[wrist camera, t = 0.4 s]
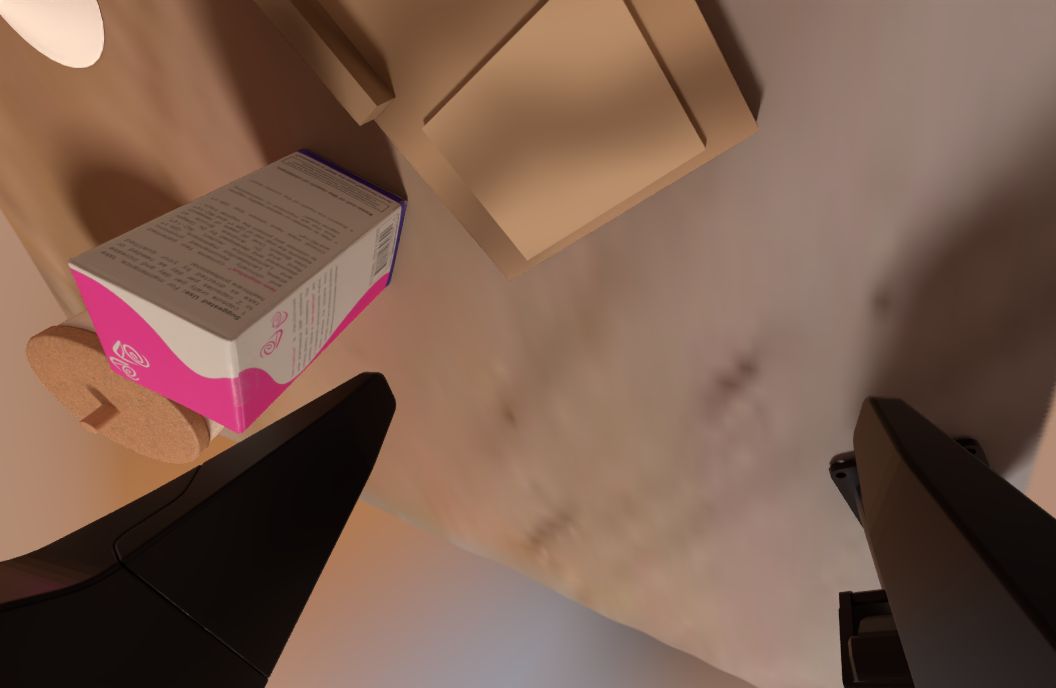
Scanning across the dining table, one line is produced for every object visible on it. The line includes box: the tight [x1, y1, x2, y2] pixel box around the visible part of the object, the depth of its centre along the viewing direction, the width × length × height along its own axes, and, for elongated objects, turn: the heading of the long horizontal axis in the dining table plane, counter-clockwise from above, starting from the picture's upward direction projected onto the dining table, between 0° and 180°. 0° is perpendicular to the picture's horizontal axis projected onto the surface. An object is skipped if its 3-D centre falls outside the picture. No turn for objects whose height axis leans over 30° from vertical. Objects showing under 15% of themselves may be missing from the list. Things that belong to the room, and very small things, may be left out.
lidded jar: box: [26, 310, 225, 463], centre depth 30 cm, size 11×11×9 cm
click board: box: [252, 0, 759, 281], centre depth 16 cm, size 18×12×4 cm, turn 39°
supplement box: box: [68, 149, 407, 433], centre depth 20 cm, size 6×6×12 cm
